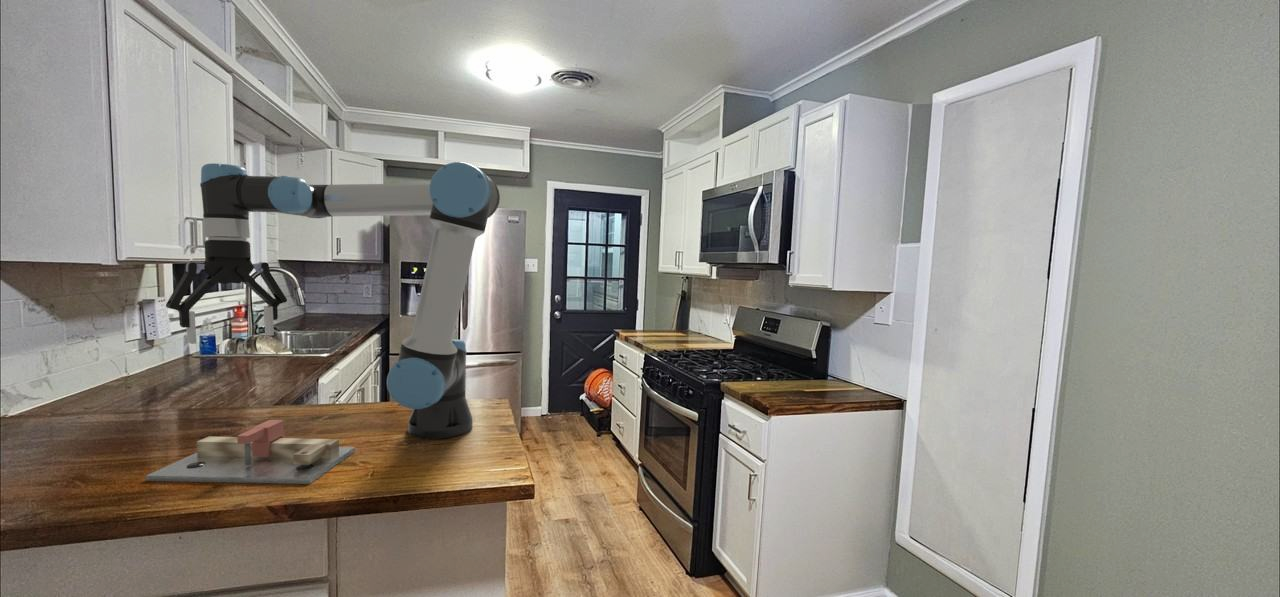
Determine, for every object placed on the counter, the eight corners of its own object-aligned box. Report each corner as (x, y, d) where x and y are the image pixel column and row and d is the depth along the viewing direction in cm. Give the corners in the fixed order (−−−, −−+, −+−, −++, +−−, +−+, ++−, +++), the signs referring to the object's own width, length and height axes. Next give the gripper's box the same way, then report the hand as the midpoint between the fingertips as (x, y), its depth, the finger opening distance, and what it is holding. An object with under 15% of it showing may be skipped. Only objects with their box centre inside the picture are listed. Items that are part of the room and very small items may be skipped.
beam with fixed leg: (339, 453, 107) (338, 439, 107) (314, 469, 99) (314, 455, 99) (209, 450, 106) (208, 436, 106) (173, 466, 98) (172, 451, 98)
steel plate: (355, 451, 111) (354, 446, 111) (309, 483, 95) (309, 478, 95) (215, 448, 110) (215, 443, 110) (146, 480, 94) (145, 474, 94)
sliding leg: (285, 447, 108) (284, 419, 108) (251, 466, 98) (250, 436, 98) (271, 447, 108) (270, 419, 108) (235, 466, 98) (234, 435, 98)
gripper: (286, 241, 119) (290, 330, 121) (141, 237, 98) (148, 344, 100) (301, 241, 115) (304, 333, 116) (152, 236, 94) (160, 349, 96)
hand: (232, 338), depth 108 cm, fingers open, 13 cm apart
